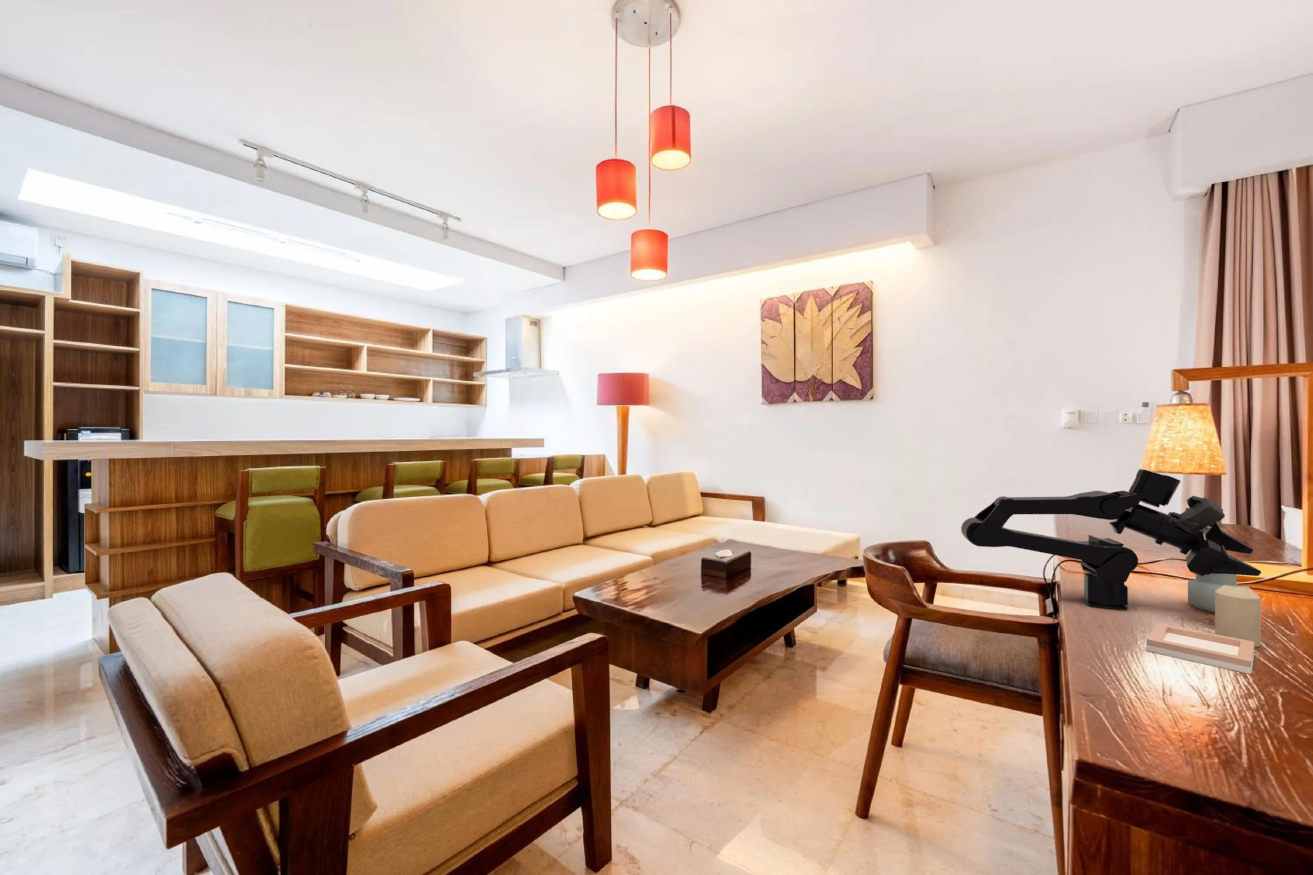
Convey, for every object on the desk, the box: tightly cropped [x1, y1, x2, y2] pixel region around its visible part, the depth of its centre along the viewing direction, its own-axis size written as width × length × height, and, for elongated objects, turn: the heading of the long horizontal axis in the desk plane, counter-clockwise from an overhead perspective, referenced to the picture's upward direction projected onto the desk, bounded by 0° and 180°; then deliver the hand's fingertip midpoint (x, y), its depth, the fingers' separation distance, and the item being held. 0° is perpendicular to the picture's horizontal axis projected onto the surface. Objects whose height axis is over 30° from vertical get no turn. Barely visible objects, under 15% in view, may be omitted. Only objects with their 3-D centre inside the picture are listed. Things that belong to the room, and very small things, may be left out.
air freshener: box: [1187, 574, 1240, 613], centre depth 112 cm, size 11×8×10 cm
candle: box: [1214, 585, 1262, 648], centre depth 95 cm, size 6×6×10 cm
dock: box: [1145, 622, 1255, 675], centre depth 90 cm, size 12×12×2 cm
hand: (1255, 562), depth 104 cm, fingers open, 9 cm apart
